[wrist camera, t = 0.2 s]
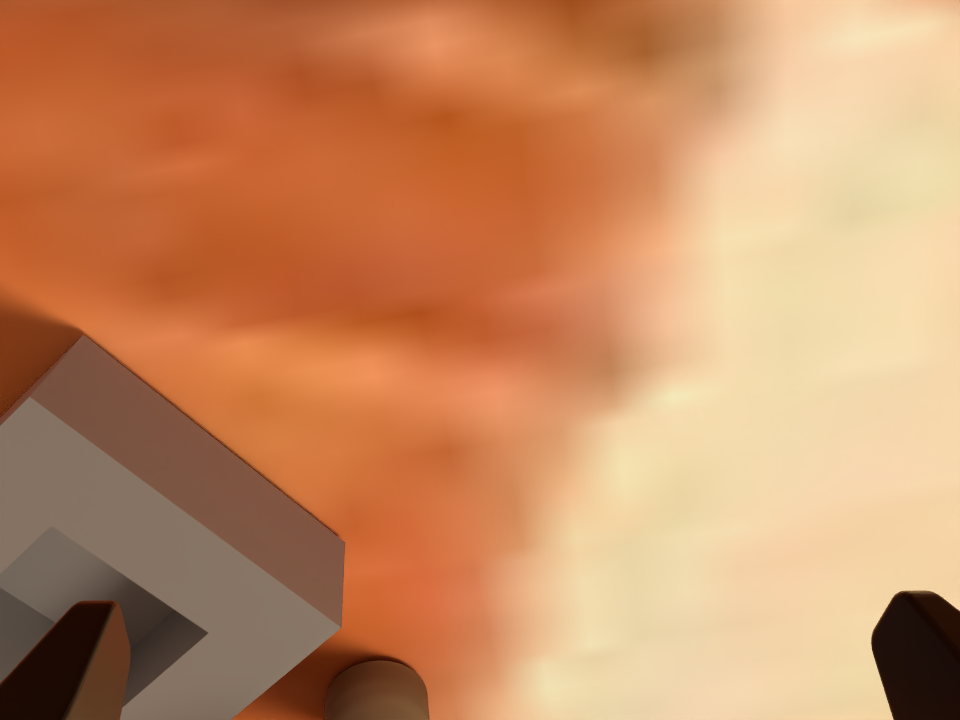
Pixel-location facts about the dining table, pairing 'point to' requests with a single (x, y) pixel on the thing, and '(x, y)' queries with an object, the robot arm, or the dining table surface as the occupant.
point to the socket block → (155, 543)
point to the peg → (377, 693)
